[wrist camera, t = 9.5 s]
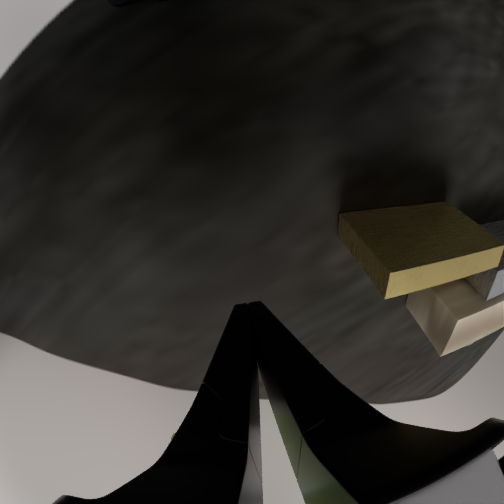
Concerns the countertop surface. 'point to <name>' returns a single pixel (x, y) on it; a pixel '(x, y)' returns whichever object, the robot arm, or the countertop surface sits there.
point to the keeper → (417, 246)
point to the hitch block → (455, 314)
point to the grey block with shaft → (492, 279)
